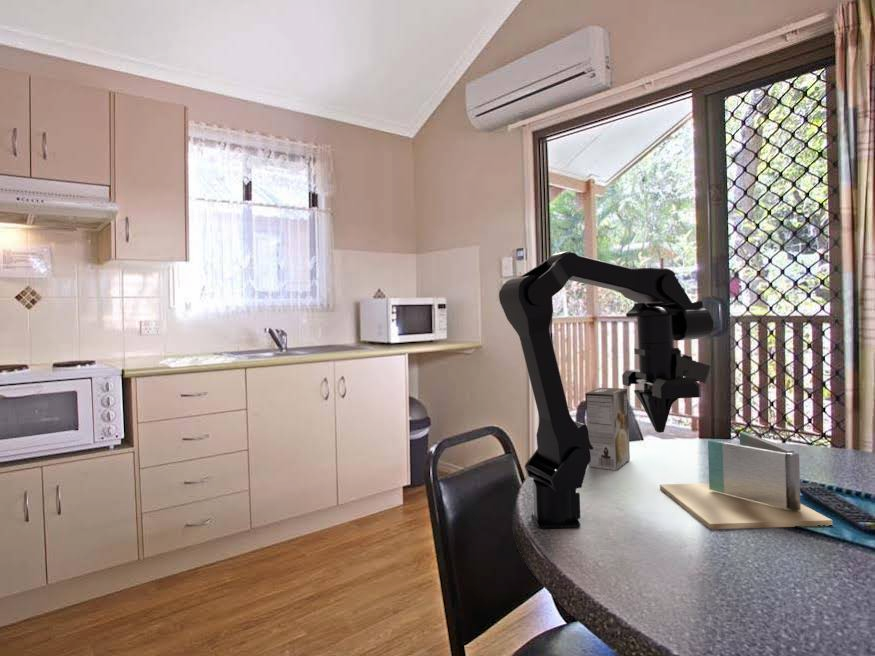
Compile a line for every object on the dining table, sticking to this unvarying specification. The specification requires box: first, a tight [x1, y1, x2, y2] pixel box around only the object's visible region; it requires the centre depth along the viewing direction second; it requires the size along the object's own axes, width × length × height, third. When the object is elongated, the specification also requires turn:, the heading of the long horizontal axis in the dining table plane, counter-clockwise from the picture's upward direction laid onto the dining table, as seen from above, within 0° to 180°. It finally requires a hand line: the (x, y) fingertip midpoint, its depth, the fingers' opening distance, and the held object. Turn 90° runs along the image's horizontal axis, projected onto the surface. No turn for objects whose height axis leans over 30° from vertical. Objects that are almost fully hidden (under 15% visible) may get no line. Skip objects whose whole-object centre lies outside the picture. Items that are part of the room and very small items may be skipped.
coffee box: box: [584, 387, 631, 471], centre depth 111 cm, size 9×6×16 cm
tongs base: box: [659, 431, 834, 530], centre depth 85 cm, size 18×19×10 cm
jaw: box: [707, 439, 802, 510], centre depth 84 cm, size 2×13×9 cm, turn 34°
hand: (659, 432), depth 88 cm, fingers closed
